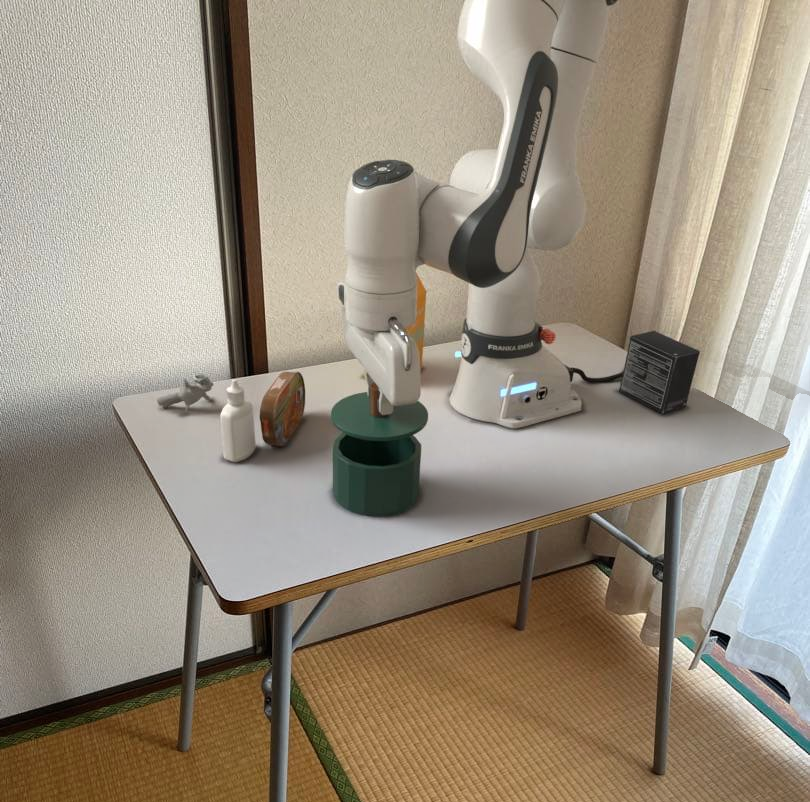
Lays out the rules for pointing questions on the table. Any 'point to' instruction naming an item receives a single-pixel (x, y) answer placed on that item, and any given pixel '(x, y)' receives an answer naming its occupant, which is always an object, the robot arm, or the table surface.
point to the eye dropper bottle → (237, 425)
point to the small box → (658, 371)
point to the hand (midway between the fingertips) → (379, 405)
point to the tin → (282, 408)
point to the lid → (377, 418)
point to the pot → (376, 474)
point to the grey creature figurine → (188, 392)
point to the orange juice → (418, 320)
